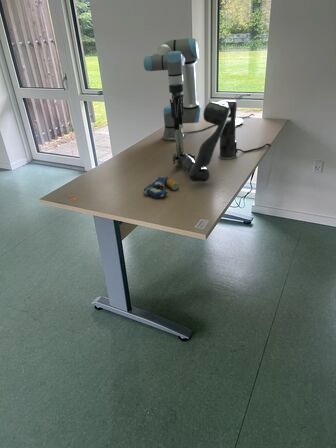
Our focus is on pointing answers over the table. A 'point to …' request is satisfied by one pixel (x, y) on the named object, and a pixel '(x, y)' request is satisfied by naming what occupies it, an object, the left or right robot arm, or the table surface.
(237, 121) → the spoon
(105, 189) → the table surface
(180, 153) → the bottle
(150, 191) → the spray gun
